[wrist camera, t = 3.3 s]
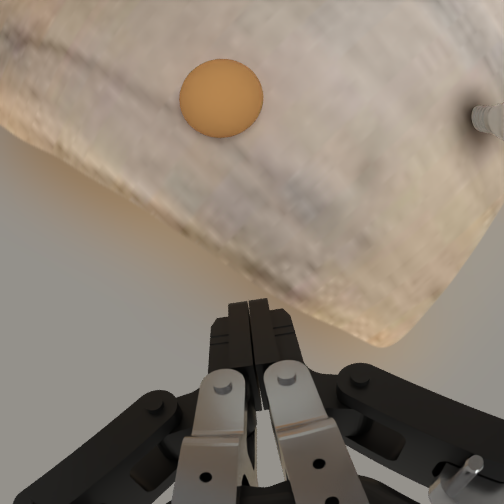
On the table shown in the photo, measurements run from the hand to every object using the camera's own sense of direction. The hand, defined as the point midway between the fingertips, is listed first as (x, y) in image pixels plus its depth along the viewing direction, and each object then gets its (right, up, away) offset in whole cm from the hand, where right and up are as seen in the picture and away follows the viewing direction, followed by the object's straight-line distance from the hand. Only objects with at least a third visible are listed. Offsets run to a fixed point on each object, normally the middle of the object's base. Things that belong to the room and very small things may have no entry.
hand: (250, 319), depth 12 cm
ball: (-2, +13, +7) cm, 15 cm away
